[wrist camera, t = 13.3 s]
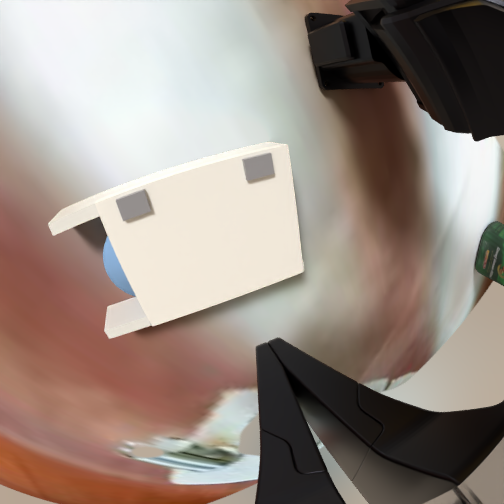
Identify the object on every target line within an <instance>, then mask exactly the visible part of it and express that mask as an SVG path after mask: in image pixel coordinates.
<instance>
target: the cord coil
mask: <svg viewBox="0 0 504 504" xmlns="http://www.w3.org/2000/svg"><path fill="white" fill-rule="evenodd" d="M103 261H104V266H105V269H106V272H107V274H108V276H109V277H110V279H111V280H112V282H113V283H114V284H115V285H116V286H117V287H118V288H120V289H121V290H123V291H124V292H126V293H128V294H130V295H133V296H136V295H135V293H134V291H133V289H132V287H131V285H130V283H129V281H128V279H127V277H126V275H125V273H124V271H123V269H122V267H121V264H120V262H119V260H118V258H117V256H116V254H115V251H114V249H113V247H112V245H111V242H110V240H109V238H108V236H107V239H106V242H105V245H104V250H103Z"/></svg>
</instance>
